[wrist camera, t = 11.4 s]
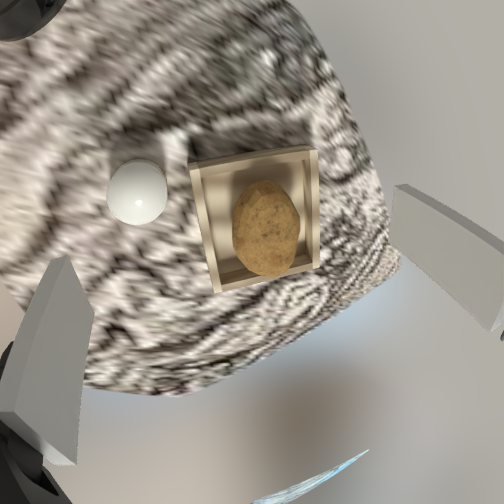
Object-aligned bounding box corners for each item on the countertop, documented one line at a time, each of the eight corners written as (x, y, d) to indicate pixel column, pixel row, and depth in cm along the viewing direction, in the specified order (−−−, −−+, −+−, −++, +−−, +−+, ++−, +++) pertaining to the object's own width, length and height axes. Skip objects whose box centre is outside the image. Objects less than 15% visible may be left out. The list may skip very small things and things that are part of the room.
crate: (187, 163, 41) (189, 170, 38) (305, 144, 44) (317, 149, 41) (210, 279, 51) (214, 293, 48) (309, 255, 54) (319, 267, 51)
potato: (286, 166, 44) (309, 182, 37) (289, 250, 51) (309, 276, 44) (219, 176, 42) (231, 194, 35) (231, 262, 49) (243, 292, 43)
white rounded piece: (105, 167, 38) (99, 174, 35) (160, 152, 39) (160, 158, 36) (119, 219, 42) (115, 230, 39) (172, 206, 43) (172, 217, 40)
